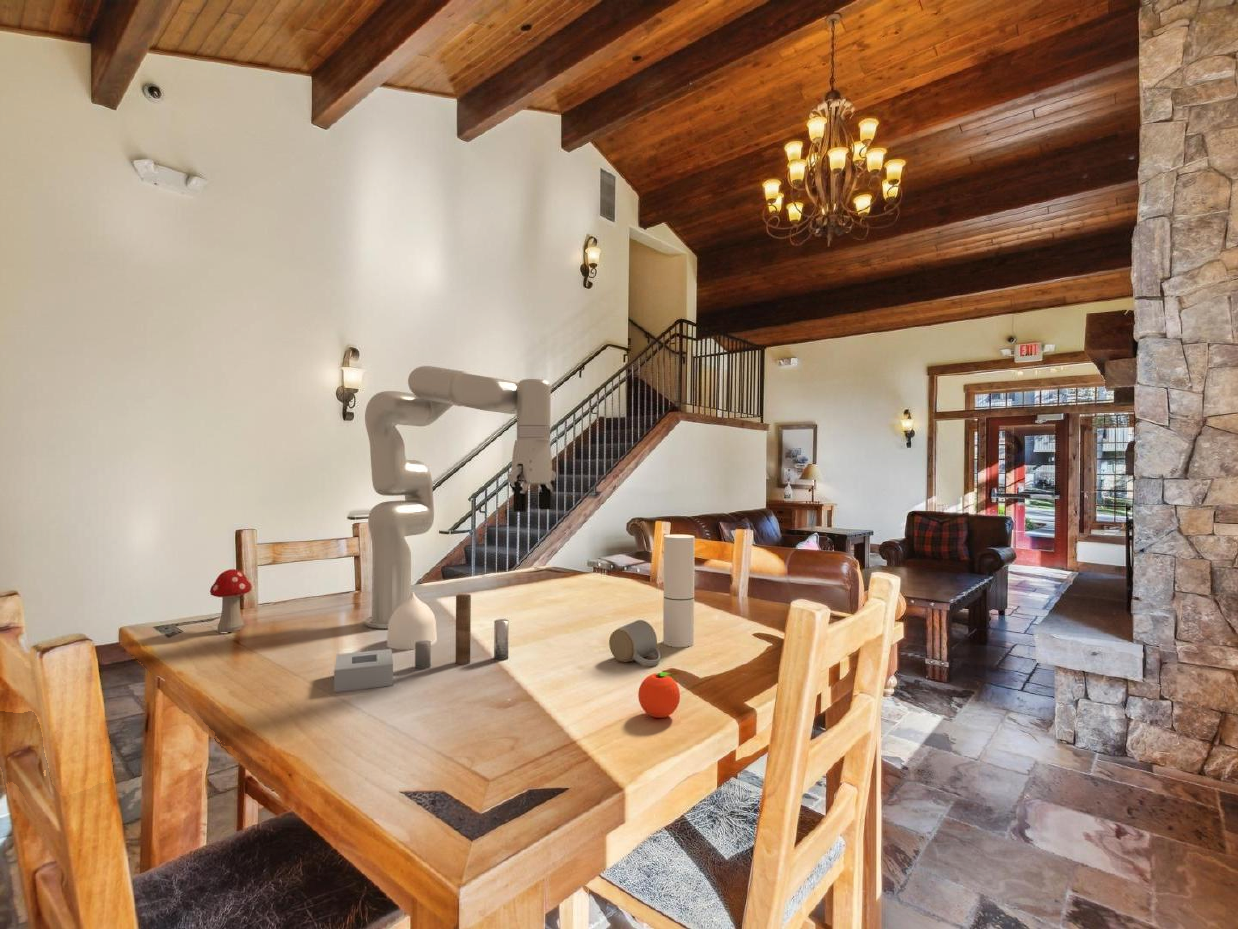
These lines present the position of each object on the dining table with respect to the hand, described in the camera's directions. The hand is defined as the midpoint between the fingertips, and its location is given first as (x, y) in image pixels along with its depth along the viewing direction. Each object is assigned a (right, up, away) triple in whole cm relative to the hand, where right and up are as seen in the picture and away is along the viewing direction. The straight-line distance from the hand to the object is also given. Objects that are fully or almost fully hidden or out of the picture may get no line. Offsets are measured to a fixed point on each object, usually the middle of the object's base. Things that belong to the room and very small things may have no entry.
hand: (532, 510), depth 138 cm
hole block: (-29, -31, -21) cm, 47 cm away
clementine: (+26, -32, -36) cm, 55 cm away
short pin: (-21, -31, -13) cm, 39 cm away
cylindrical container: (+33, -32, +5) cm, 46 cm away
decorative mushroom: (-76, -31, +13) cm, 83 cm away
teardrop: (-29, -31, +4) cm, 43 cm away
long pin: (-13, -31, -10) cm, 35 cm away
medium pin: (-6, -31, -7) cm, 32 cm away
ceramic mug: (+23, -32, -7) cm, 40 cm away
